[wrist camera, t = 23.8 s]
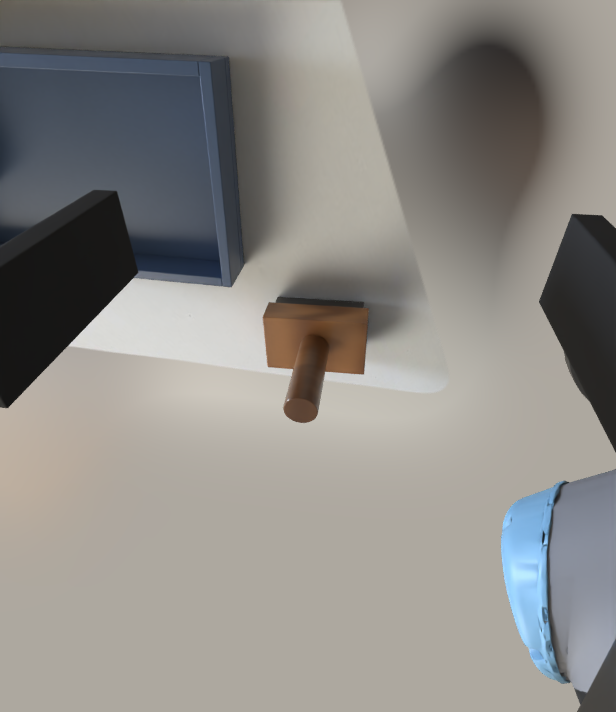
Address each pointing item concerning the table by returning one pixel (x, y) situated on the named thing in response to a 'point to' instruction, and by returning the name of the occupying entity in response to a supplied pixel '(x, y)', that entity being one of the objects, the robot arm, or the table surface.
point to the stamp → (314, 346)
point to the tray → (126, 152)
